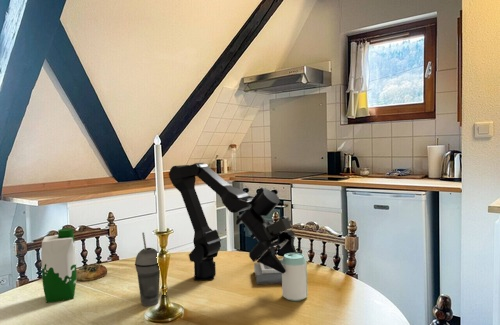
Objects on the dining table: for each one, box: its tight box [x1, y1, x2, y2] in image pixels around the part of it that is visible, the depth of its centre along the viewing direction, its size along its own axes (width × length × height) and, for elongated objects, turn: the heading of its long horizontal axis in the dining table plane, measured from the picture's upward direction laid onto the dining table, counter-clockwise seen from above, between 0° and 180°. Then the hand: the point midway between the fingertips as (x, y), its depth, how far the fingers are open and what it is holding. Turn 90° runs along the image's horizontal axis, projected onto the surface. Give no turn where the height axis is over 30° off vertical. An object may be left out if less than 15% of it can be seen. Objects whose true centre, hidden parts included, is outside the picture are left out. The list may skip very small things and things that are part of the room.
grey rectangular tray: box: [253, 258, 283, 285], centre depth 122 cm, size 14×12×4 cm
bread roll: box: [76, 263, 108, 282], centre depth 128 cm, size 11×11×5 cm
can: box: [281, 252, 308, 302], centre depth 105 cm, size 7×7×12 cm
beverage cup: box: [134, 232, 161, 307], centre depth 104 cm, size 7×7×20 cm
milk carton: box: [40, 227, 78, 304], centre depth 110 cm, size 9×9×20 cm
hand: (292, 267), depth 105 cm, fingers open, 9 cm apart
